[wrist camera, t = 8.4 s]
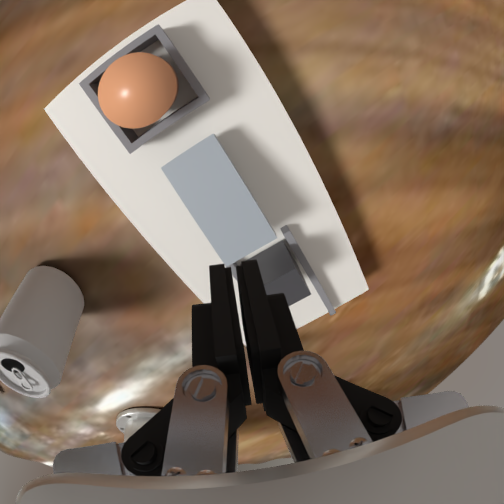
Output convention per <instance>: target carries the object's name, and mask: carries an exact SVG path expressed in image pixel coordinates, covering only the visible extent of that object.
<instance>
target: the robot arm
mask: <svg viewBox="0 0 504 504" xmlns="http://www.w3.org/2000/svg"><path fill="white" fill-rule="evenodd" d="M236 273H237V282H238V291H239V299H240V308H241V316H242V324H243V330H244V336H245V342H246V348H247V353H248V359H249V365H250V370H251V376H252V381H253V387H254V392H255V398H256V403H257V404H259V403H263V407H264V411H266V414H267V416H269V417H271V418H273V419H275V420H276V421H277V422H278V426H279V428H280V430H281V433H282V435H283V438H284V440H285V442H286V445H287V447H288V449H289V452H290V454H291V456H292V459H293V461H294V463H292V464H287V465H281V466H276V467H270V468H264V469H257V470H250V471H242V472H237V469H238V468H237V466H238V436H239V430H238V428H239V426H240V425H241V424H242V423H243V422H244V421H245V420H246V419H247V415H246V408H245V406H246V405H252V404H251V397H250V390H249V382H248V375H247V367H246V359H245V352H244V346H243V340H242V334H241V328H240V322H239V315H238V309H237V303H236V296H235V290H234V284H233V277H232V271H231V267H226V268H225V265H224V264H217V265H209V275H210V292H211V303H205V304H197V305H192V368H189V369H188V370H186V371H185V372H183V374H182V375H181V376H180V377H179V379H178V381H177V384H176V389H175V395H174V398H173V399H172V400H171V401H170V402H169V403H168V404H167V405H165V406H164V407H163V408H162V409H155V408H132V409H128V410H125V411H123V412H121V413H120V414H119V415H118V416H117V420H116V425H117V427H118V429H119V430H120V431H121V432H123V433H124V443H119V444H117V443H116V442H111V443H106V444H100V445H94V446H88V447H81V448H74V449H66V450H64V451H61V452H60V453H59V454H57V455H56V457H55V459H54V462H53V472H54V474H50V475H45V476H42V477H39V478H35V479H33V480H31V481H29V482H28V483H26V484H25V485H24V486H23V487H22V488H21V490H20V491H19V493H18V496H17V499H16V502H15V504H504V408H502V407H497V406H475V407H468V404H467V402H466V400H465V398H464V397H463V396H462V395H461V394H460V393H458V392H455V391H445V392H440V393H433V394H427V395H420V396H412V397H404V398H400V400H399V401H391V400H390V399H388V398H386V397H383V396H381V395H378V394H376V393H374V392H371V391H369V390H366V389H364V388H362V387H359V386H357V385H355V384H352V383H350V382H348V381H346V380H343V379H341V378H339V377H337V376H334V375H333V373H332V371H331V370H330V368H329V366H328V364H327V363H326V361H325V360H324V359H323V358H322V357H321V356H319V355H318V354H316V353H313V352H310V351H304V350H303V347H302V344H301V341H300V338H299V335H298V332H297V329H296V326H295V323H294V321H293V318H292V315H291V312H290V309H289V306H288V303H287V300H286V297H285V295H284V293H278V294H271V295H267V294H266V291H265V287H264V284H263V280H262V276H261V273H260V269H259V266H258V262H257V259H255V260H248V261H241V266H236Z"/></svg>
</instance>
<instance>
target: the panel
mask: <svg viewBox="0 0 504 504" xmlns="http://www.w3.org/2000/svg"><path fill="white" fill-rule="evenodd" d="M136 52H144V53H150V54H153V55H155V56H158V57H160V58H162V59H164V60H165V61H167V62H168V63H169V64H170V65H171V66H172V67H173V69H174V70H175V72H176V74H177V78H178V84H179V87H178V94H177V97H176V100H175V102H174V104H173V105H172V107H171V108H170V109H169V110H168V111H167V112H166V113H165V114H164V115H163V116H162V117H161V118H160V119H159V120H157V121H156V122H154V123H153V124H150V125H148V126H145V127H142V128H134V129H132V128H124V127H121V126H118V125H116V124H114V123H113V122H111V121H110V120H109V119H108V118H107V117H106V116H105V115H104V113H103V111H102V110H101V107H100V105H99V101H98V87H99V83H100V80H101V77H102V75H103V74H104V72H105V71H106V69H107V68H108V67H109V66H110V65H111V64H112V63H113V62H114V61H115V60H117V59H118V58H120V57H122V56H124V55H127V54H130V53H136ZM44 110H45V111H46V113H47V114H48V115H49V117H50V118H51V120H52V121H53V122H54V124H55V125H56V127H57V128H58V129H59V131H60V132H61V134H62V135H63V136H64V138H65V139H66V140H67V142H68V143H69V144H70V146H71V147H72V148H73V150H74V151H75V152H76V154H77V155H78V156H79V158H80V159H81V160H82V162H83V163H84V164H85V166H86V167H87V168H88V169H89V171H90V172H91V173H92V175H93V176H94V177H95V178H96V180H97V181H98V182H99V183H100V185H101V186H102V187H103V188H104V190H105V191H106V192H107V193H108V195H109V196H110V197H111V198H112V200H113V201H114V202H115V203H116V205H117V206H118V207H119V208H120V209H121V211H122V212H123V213H124V214H125V215H126V217H127V218H128V219H129V220H130V221H131V223H132V224H133V225H134V226H135V227H136V228H137V230H138V231H139V232H140V233H141V234H142V235H143V237H144V238H145V239H146V240H147V241H148V242H149V244H150V245H151V246H152V247H153V248H154V249H155V250H156V252H157V253H158V254H159V255H160V256H161V257H162V258H163V259H164V261H165V262H166V263H167V264H168V265H169V266H170V267H171V268H172V270H173V271H174V272H175V273H176V274H177V275H178V276H179V277H180V278H181V279H182V281H183V282H184V283H185V284H186V285H187V286H188V287H189V288H190V289H191V290H192V291H193V292H194V293H195V295H196V296H197V297H198V298H199V299H200V300H201V301H202V302H203V303H204V304H205V303H211V292H210V275H209V265H217V264H224V263H223V261H222V260H221V259H220V257H219V256H218V254H217V253H216V251H215V250H214V248H213V247H212V245H211V244H210V242H209V241H208V239H207V238H206V236H205V235H204V233H203V232H202V230H201V229H200V227H199V226H198V224H197V223H196V221H195V220H194V218H193V217H192V215H191V214H190V212H189V211H188V209H187V208H186V206H185V205H184V203H183V202H182V200H181V198H180V197H179V195H178V194H177V192H176V191H175V189H174V188H173V186H172V185H171V183H170V182H169V180H168V178H167V177H166V175H165V174H164V172H163V171H162V169H161V167H163V166H164V165H166V164H167V163H168V162H170V161H171V160H173V159H174V158H176V157H177V156H179V155H180V154H182V153H183V152H185V151H186V150H188V149H189V148H191V147H193V146H194V145H196V144H197V143H199V142H200V141H202V140H204V139H205V138H207V137H208V136H210V135H212V134H215V135H216V137H217V138H218V140H219V141H220V143H221V145H222V146H223V148H224V149H225V151H226V153H227V154H228V156H229V157H230V159H231V161H232V162H233V164H234V165H235V167H236V169H237V170H238V172H239V173H240V175H241V177H242V178H243V180H244V182H245V183H246V185H247V186H248V188H249V190H250V191H251V193H252V195H253V196H254V198H255V199H256V201H257V203H258V204H259V206H260V208H261V209H262V211H263V213H264V214H265V216H266V218H267V219H268V221H269V223H270V224H271V226H272V228H273V229H274V231H275V233H276V236H277V239H275V240H273V241H271V242H270V243H268V244H266V245H264V246H263V247H261V248H259V249H257V250H255V251H254V252H252V253H250V254H248V255H247V256H245V257H243V258H241V259H240V260H238V261H236V262H234V263H233V264H231V265H229V266H227V267H231V271H232V277H233V284H234V290H235V296H236V303H237V309H238V315H239V322H240V328H241V334H242V340H243V344H244V345H245V346H246V342H245V336H244V330H243V324H242V316H241V308H240V299H239V291H238V282H237V273H236V266H241V265H240V264H241V261H246V260H248V259H250V258H252V257H253V256H255V255H257V254H259V253H260V252H262V251H264V250H266V249H268V248H269V247H271V246H273V245H275V244H276V243H278V242H280V241H282V240H283V241H284V243H285V245H286V246H287V248H288V250H289V251H290V253H291V254H292V256H293V258H294V259H295V261H296V263H297V264H298V266H299V269H300V271H301V273H302V275H303V277H304V279H305V281H306V284H307V286H308V288H309V290H310V292H311V295H309V296H307V297H306V298H304V299H302V300H300V301H298V302H296V303H294V304H293V305H291V306H289V309H290V312H291V315H292V318H293V321H294V323H295V326H296V329H297V328H299V327H301V326H303V325H305V324H307V323H309V322H311V321H313V320H315V319H317V318H319V317H320V316H322V315H324V314H326V313H328V312H329V313H330V315H333V314H335V313H336V312H335V310H334V309H335V308H337V307H339V306H341V305H342V304H344V303H346V302H348V301H350V300H351V299H353V298H355V297H357V296H358V295H360V294H362V293H364V292H365V291H367V290H369V288H368V286H367V283H366V281H365V278H364V276H363V273H362V271H361V268H360V266H359V263H358V261H357V258H356V256H355V253H354V251H353V249H352V246H351V244H350V241H349V239H348V237H347V234H346V232H345V230H344V227H343V225H342V223H341V221H340V218H339V216H338V214H337V212H336V210H335V207H334V205H333V203H332V201H331V199H330V196H329V194H328V192H327V190H326V188H325V186H324V184H323V182H322V180H321V178H320V175H319V173H318V171H317V169H316V167H315V165H314V163H313V161H312V159H311V157H310V155H309V153H308V151H307V149H306V148H305V146H304V144H303V142H302V140H301V138H300V136H299V134H298V132H297V130H296V128H295V127H294V125H293V123H292V121H291V119H290V117H289V115H288V114H287V112H286V110H285V108H284V106H283V105H282V103H281V101H280V99H279V98H278V96H277V94H276V92H275V91H274V89H273V87H272V85H271V84H270V82H269V80H268V79H267V77H266V75H265V74H264V72H263V70H262V69H261V67H260V65H259V64H258V62H257V60H256V59H255V57H254V56H253V54H252V52H251V51H250V49H249V48H248V46H247V44H246V43H245V41H244V40H243V38H242V37H241V35H240V34H239V32H238V31H237V29H236V28H235V26H234V25H233V23H232V22H231V20H230V19H229V17H228V16H227V14H226V13H225V11H224V10H223V8H222V7H221V5H220V4H219V3H218V1H217V0H186V1H185V2H183V3H181V4H179V5H177V6H176V7H174V8H172V9H171V10H169V11H167V12H165V13H164V14H162V15H161V16H159V17H157V18H156V19H154V20H153V21H151V22H149V23H148V24H146V25H145V26H143V27H142V28H140V29H139V30H137V31H136V32H134V33H133V34H132V35H130V36H129V37H127V38H126V39H124V40H123V41H122V42H120V43H119V44H118V45H116V46H115V47H114V48H112V49H111V50H110V51H108V52H107V53H106V54H105V55H103V56H102V57H101V58H99V59H98V60H97V61H96V62H95V63H93V64H92V65H91V66H90V67H89V68H87V69H86V70H85V71H84V72H83V73H82V74H80V75H79V76H78V77H77V78H76V79H75V80H74V81H73V82H71V83H70V84H69V85H68V86H67V87H66V88H65V89H64V90H63V91H62V92H61V93H60V94H59V95H58V96H57V97H56V98H55V99H53V100H52V101H51V102H50V103H49V104H48V106H47V107H46V108H45V109H44ZM224 265H225V264H224ZM225 268H226V266H225Z"/></svg>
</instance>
